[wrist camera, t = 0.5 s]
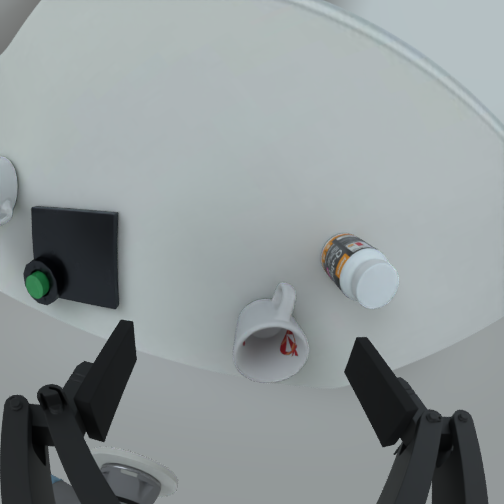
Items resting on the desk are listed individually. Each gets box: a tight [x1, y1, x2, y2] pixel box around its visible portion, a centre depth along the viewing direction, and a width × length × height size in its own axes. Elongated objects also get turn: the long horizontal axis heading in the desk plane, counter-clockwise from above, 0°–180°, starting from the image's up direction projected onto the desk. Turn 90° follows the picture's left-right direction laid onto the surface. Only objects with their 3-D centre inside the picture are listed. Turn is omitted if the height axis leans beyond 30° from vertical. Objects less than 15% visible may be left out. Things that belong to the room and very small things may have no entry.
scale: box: [24, 206, 119, 309], centre depth 30 cm, size 12×14×3 cm
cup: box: [233, 282, 309, 383], centre depth 31 cm, size 11×8×8 cm
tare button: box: [26, 271, 50, 299], centre depth 29 cm, size 3×3×2 cm
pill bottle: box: [321, 233, 399, 309], centre depth 29 cm, size 6×6×10 cm
